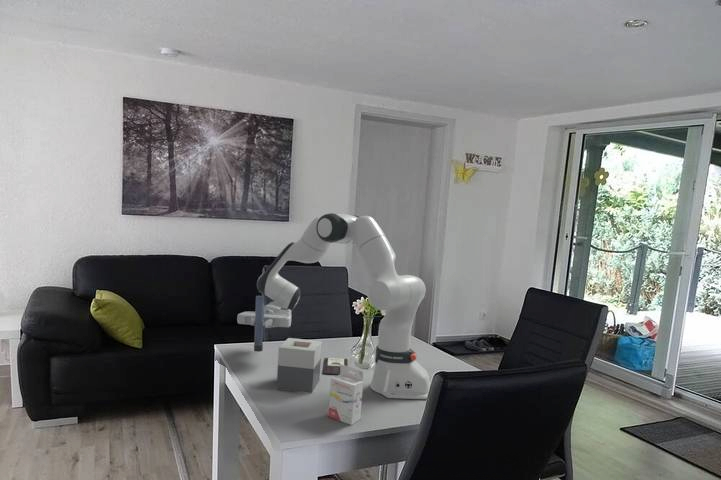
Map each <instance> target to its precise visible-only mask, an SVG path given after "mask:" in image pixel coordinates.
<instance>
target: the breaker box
mask: <svg viewBox="0 0 721 480" xmlns="http://www.w3.org/2000/svg"><path fill="white" fill-rule="evenodd" d="M322 344H323V341H322V340H313V339H304V338H303V339H302V338H293V337H288V338H287V339H285V341H284V342H283V343H282V344H280V345H279V346H278V355H277V356H278V358H277V370H276V371H277V375H276V389H275V390H280V391H281V390H283V391H291V392H300V393H307V394H308V393H310V394H313V392H314V391H315V389H316V387H317V385H318V384H319V381H320V380H321V379H320V377H321V376H320V375H321V365H322V363H321V362H322V361H321V360H322V359H321V358H322Z"/></svg>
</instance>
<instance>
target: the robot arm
mask: <svg viewBox="0 0 721 480" xmlns="http://www.w3.org/2000/svg"><path fill="white" fill-rule="evenodd" d="M332 243H336V244H342V245H343V244H344V245H345V244H347V245H348V244H354V245H355V247H356V249H357V251H358V253H359V255H360V257H361V259H362V261H363V263H364V266H365V268H366V271H367V273H368V277H369V286H368V288H367V291H366V292H367V300H368V302H369V304H370V306H372V308H374V309H376V310H381V311H386V313H385V315H384V317H383V318H382V319H381V320H380V322H379V324H378V334H377V335H378V336H377V345H376V347H375V353H374V354H375V355H374V362H375V365H374V371H373V375H372V379H371V381H370V383H369V388H370V390H372V391H374V392H376V393H378V394H380V395H382V396H384V397H385V398H387V399H404V400H405V399H406V400H407V399H410V400H428V399H427V394H428V391H429V387H430V383H431V382H430V377H429V376H430V375H429V373H428V371H427V370H426V369H425V367H423V366H422V365H421V364H420V363H419V362H418V361H416V360H417V354H416V352H415V350H414V349H412V348H411V338H412V328H413V325H414V324H413V323H414V320H415V317H416V314H417V311H418V308H419V306H420V304H421V302H422V301H423V299H424V298H425V296H426V293H427V292H426V291H427V288H426V284H425V282H424V281H423V280H422V279H421V278H420V277H418V276H416V275H413V274H412V275H411V274H404V275H403V274H401V275H399V274H398V273H397V271H396V267H395V266H396V265H395V262H396V259H397V255H396V253H395V251H394V249H393V247H392V245H391V244H390V241H389V240H388V238H387V236H386V235H385V232H384V231H383V229H382V228H381V226H380V225H379V224H378V222H377V221H376V220H375V219H374V218H373V216H370V215H362V216H358V215H351V214H347V213H330V212H329V213H326V214H323V215H319V216H316V217H315V218H314V219H313V220H312V221H310V223H309V225H308V226H307V228H306V229H305V230H304V232H303V234H302V236H301V237H300V239H298V240H297V241H296V242H293V241H292V242H290V243H288V244H287V245H286V246H285V247H284V248H283V249H282V250H281V252H280V253H278V255H277V257H276V258H275V259H274V261H273V262H271V264H270V265H269V266H268V267H267V269H266V270H265V271H264V272H263V273H262V274H260V276H259V277H258V279H257V281H256V288H257V291H258V293H260V294H262V295H263V296H265V297H268V298H269V299H271V300H272V301H271V302H269V303H268V304H266V305H264V320H263V322H262V324H263V325H262V326H263V328H266V329H272V328H278V327H279V328H290V327H291V326H292V325H291V324H292V312H293V311H294V310H295V309H296V307H297V306H298V304H299V302H300V300H301V298H302V297H301V289H300V287H298V286H296V285H295V284H294V283H292V282H291V281H289V280H287V279H285V278H284V277H282V276H281V275H280V274H279V272H280V270H281V269H282V268H283V267H284V265H285V264H286V263H287V262H289V261H294V262H298V263H303V264H314V263H317V262H319V261H320V260H322V258H323V257H324V256H325V254H326V252H327V251H328V250H329V249H328V248H329V247H330V245H331V244H332ZM236 321H237V324H238V325H250V326H254V327H255V311H243V312H240V313H238V314H237V317H236Z"/></svg>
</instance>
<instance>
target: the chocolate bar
mask: <svg viewBox="0 0 721 480" xmlns="http://www.w3.org/2000/svg"><path fill="white" fill-rule="evenodd" d="M341 365H345V366H348V367H349V365H348V359H347V358H333V357H324V362H323V369H322V370H323V371H322V375H325V376H337V375H339V374H340V366H341Z"/></svg>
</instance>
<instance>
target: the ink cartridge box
mask: <svg viewBox="0 0 721 480" xmlns="http://www.w3.org/2000/svg"><path fill="white" fill-rule="evenodd" d="M351 371H352V372H353V373H351ZM363 377H364V372H363V370H361V369H359V368H355V367H351V366H349V365H348V366H345V365H341V366H340V374H339V375H334V376H332V377H331V379H330V387H329V388H330V389H329V400H328V413H327V414H328V416H327V417H329V418H332V419H334V420H337V421H340V422H343V423H345V424H348V425H351V426H352V425H354V424H355V423H357V422H359V421H360V420H361V414H362V401H363V400H362V399H363V390H364V389H363V387H364V380H363Z"/></svg>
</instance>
